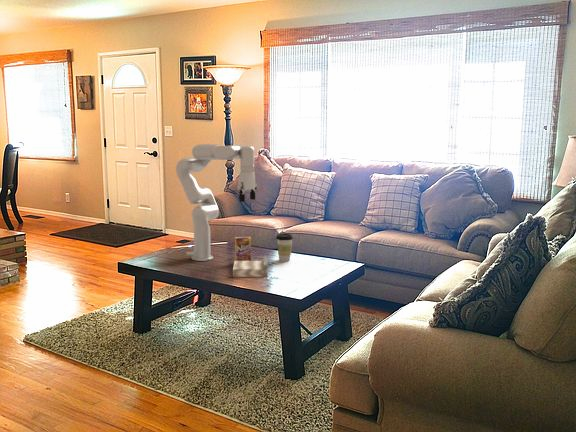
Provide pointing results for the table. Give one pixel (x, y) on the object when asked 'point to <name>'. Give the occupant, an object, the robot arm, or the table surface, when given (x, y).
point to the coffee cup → (284, 246)
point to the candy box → (242, 248)
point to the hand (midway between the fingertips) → (247, 200)
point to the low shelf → (250, 268)
